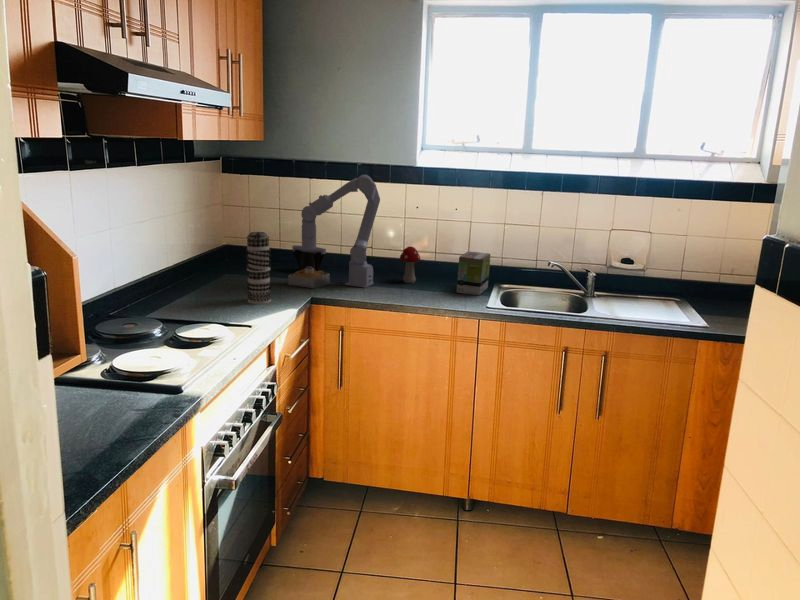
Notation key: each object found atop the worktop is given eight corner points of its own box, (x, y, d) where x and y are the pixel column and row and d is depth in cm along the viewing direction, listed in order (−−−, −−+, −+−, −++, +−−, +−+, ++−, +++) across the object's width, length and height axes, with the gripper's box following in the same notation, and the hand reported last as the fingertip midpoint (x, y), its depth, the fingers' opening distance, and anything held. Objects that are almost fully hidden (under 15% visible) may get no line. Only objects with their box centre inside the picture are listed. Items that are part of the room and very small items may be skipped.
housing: (329, 283, 271) (329, 270, 270) (313, 288, 260) (313, 276, 259) (304, 279, 276) (304, 267, 274) (288, 285, 265) (288, 272, 264)
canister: (314, 283, 267) (315, 267, 266) (306, 284, 265) (307, 267, 264) (310, 281, 270) (311, 265, 269) (302, 282, 268) (303, 266, 267)
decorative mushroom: (397, 279, 282) (398, 244, 278) (417, 279, 283) (418, 244, 280) (401, 284, 273) (402, 248, 269) (421, 284, 274) (423, 248, 270)
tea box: (480, 296, 258) (483, 258, 255) (455, 293, 262) (457, 256, 258) (488, 287, 272) (490, 252, 268) (464, 285, 275) (466, 250, 272)
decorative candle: (256, 305, 234) (254, 235, 228) (241, 300, 240) (239, 232, 234) (277, 301, 240) (276, 233, 234) (262, 296, 247) (261, 230, 240)
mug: (327, 271, 293) (327, 250, 291) (303, 273, 286) (303, 252, 284) (317, 267, 299) (317, 247, 297) (294, 270, 292) (294, 249, 290)
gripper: (329, 236, 264) (329, 270, 267) (298, 233, 270) (299, 266, 273) (320, 239, 258) (320, 273, 261) (289, 235, 263) (289, 269, 267)
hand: (309, 269), depth 267 cm, fingers open, 7 cm apart
